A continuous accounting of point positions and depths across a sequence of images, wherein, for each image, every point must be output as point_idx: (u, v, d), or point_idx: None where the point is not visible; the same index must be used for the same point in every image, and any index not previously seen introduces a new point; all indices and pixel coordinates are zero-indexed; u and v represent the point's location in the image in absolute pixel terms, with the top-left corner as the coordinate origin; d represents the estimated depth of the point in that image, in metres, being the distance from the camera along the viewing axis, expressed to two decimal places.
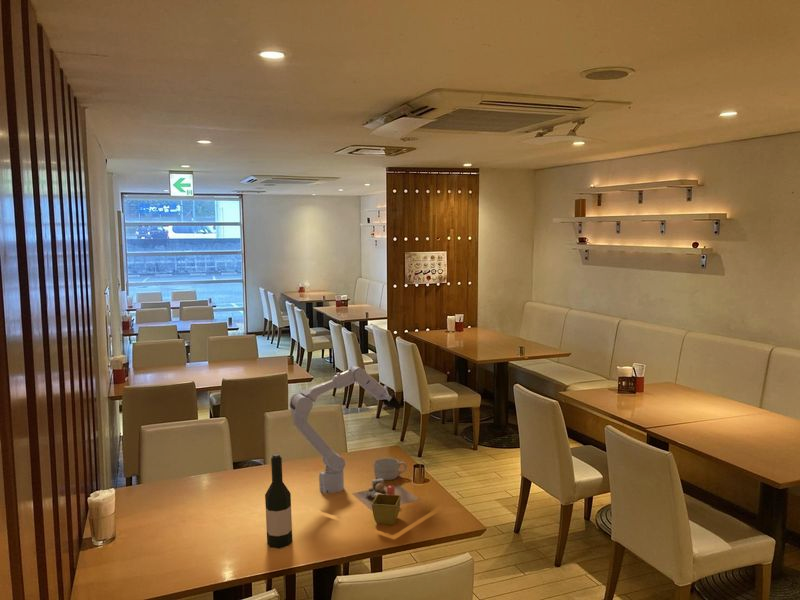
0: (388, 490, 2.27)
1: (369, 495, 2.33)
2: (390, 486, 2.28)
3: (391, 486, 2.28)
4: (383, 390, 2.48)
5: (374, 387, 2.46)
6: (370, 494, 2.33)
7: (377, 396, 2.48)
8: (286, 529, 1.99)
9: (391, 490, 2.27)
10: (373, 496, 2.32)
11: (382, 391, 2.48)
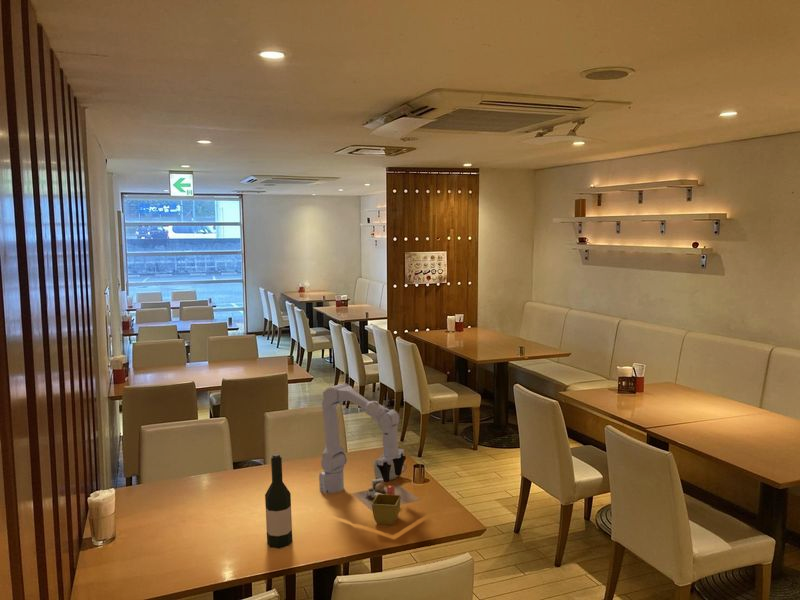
0: (388, 490, 2.27)
1: (369, 495, 2.33)
2: (390, 486, 2.28)
3: (391, 486, 2.28)
4: (390, 454, 2.25)
5: (386, 443, 2.25)
6: (370, 494, 2.33)
7: (383, 452, 2.28)
8: (286, 529, 1.99)
9: (391, 490, 2.27)
10: (373, 496, 2.32)
11: (388, 454, 2.25)
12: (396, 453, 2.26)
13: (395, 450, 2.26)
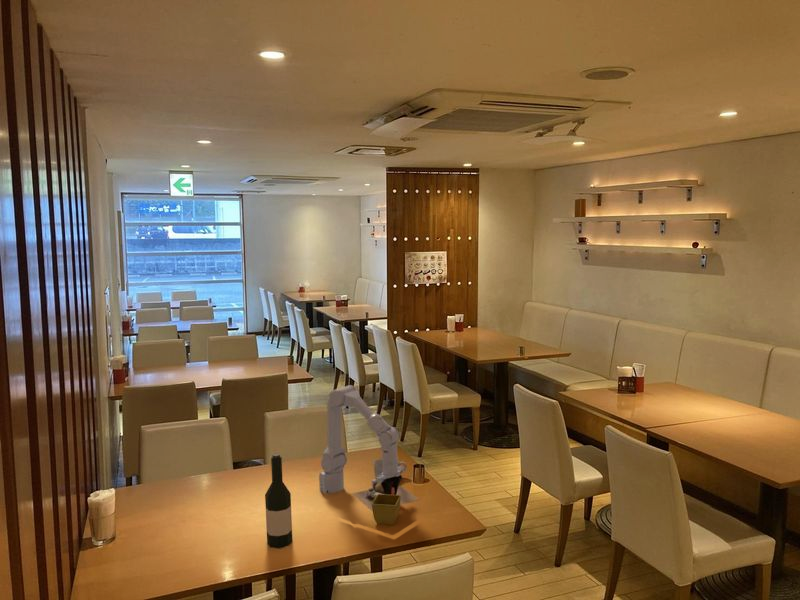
0: None
1: (369, 495, 2.33)
2: None
3: None
4: (389, 472, 2.25)
5: (385, 461, 2.25)
6: (370, 494, 2.33)
7: None
8: (286, 529, 1.99)
9: None
10: (373, 496, 2.32)
11: (387, 472, 2.25)
12: (395, 471, 2.26)
13: (394, 468, 2.25)
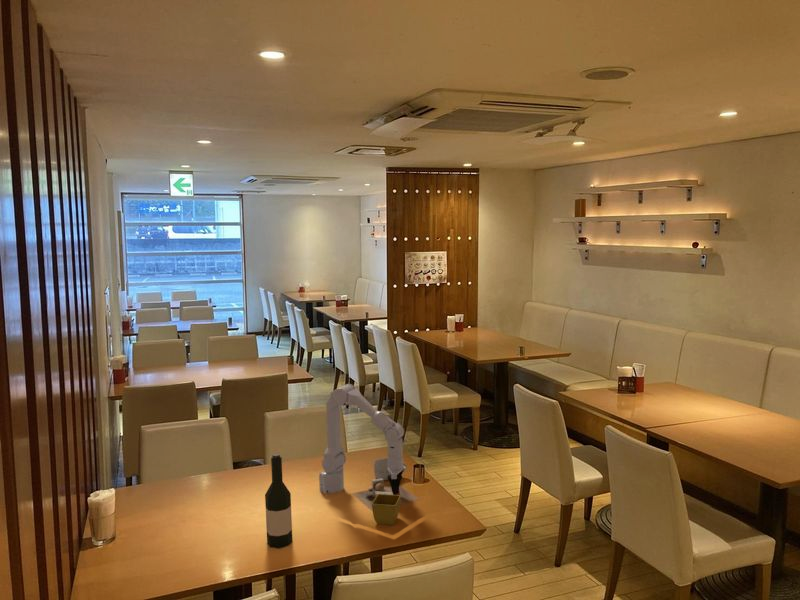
0: None
1: (371, 495, 2.33)
2: None
3: None
4: (398, 467, 2.30)
5: (392, 456, 2.30)
6: (372, 494, 2.33)
7: (389, 466, 2.31)
8: (286, 529, 1.99)
9: None
10: (375, 495, 2.33)
11: (396, 467, 2.30)
12: (402, 465, 2.32)
13: (402, 462, 2.32)
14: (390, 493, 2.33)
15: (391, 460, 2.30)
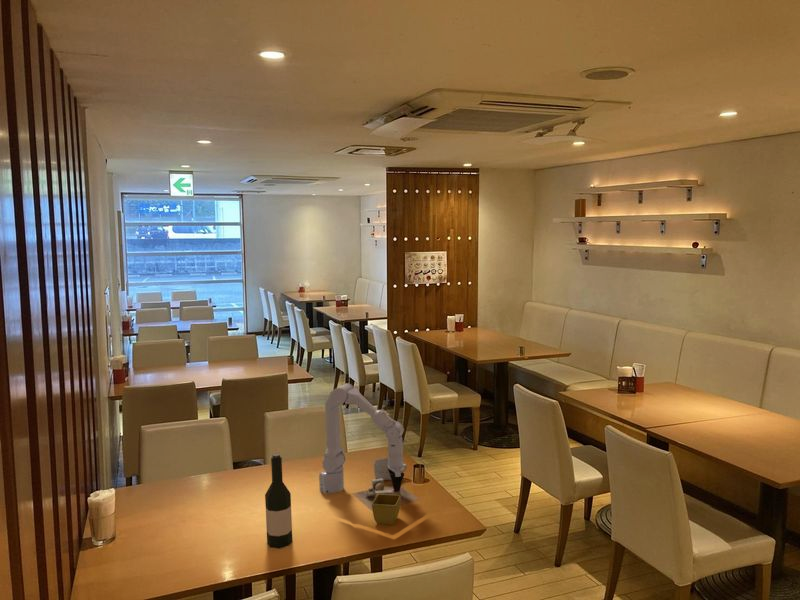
0: None
1: (372, 495, 2.33)
2: None
3: None
4: (400, 465, 2.33)
5: (393, 455, 2.32)
6: (373, 494, 2.33)
7: (391, 464, 2.33)
8: (286, 529, 1.99)
9: None
10: (376, 495, 2.34)
11: (398, 465, 2.33)
12: (402, 462, 2.35)
13: (402, 460, 2.35)
14: (391, 491, 2.35)
15: (393, 458, 2.32)
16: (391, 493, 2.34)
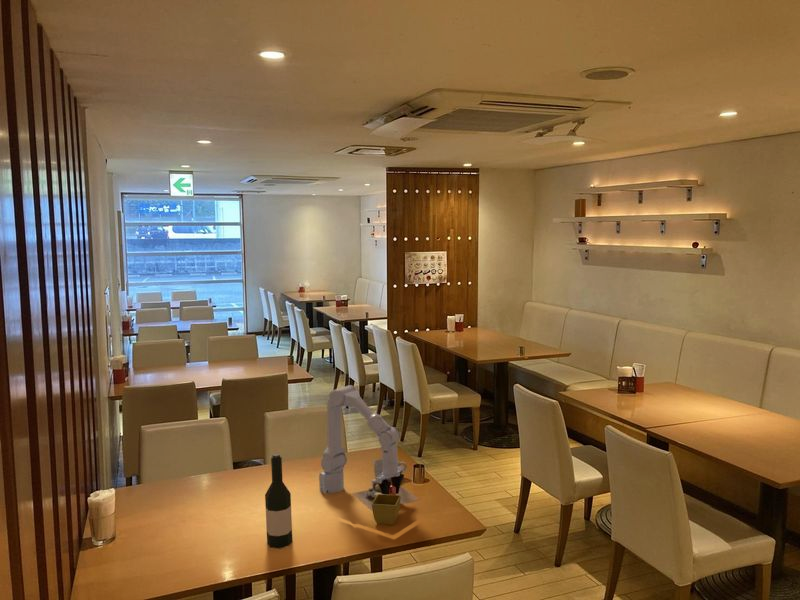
0: None
1: (369, 495, 2.33)
2: (391, 485, 2.29)
3: (392, 485, 2.29)
4: (389, 472, 2.25)
5: (385, 461, 2.25)
6: (370, 494, 2.33)
7: None
8: (286, 529, 1.99)
9: (393, 489, 2.28)
10: (374, 496, 2.32)
11: (387, 472, 2.25)
12: (395, 471, 2.26)
13: (394, 468, 2.25)
14: None
15: (383, 464, 2.26)
16: None
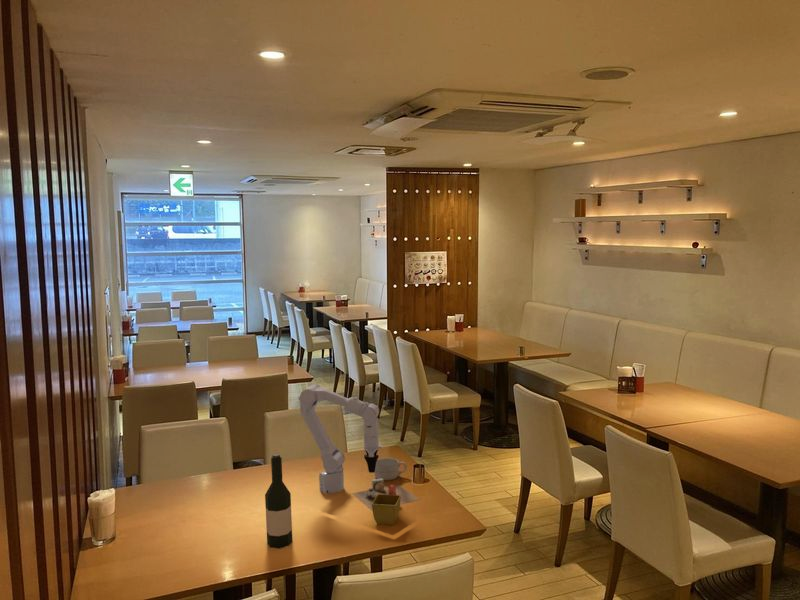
0: (389, 489, 2.28)
1: (369, 495, 2.33)
2: (391, 485, 2.29)
3: (392, 485, 2.29)
4: (374, 446, 2.37)
5: (369, 435, 2.36)
6: (370, 494, 2.33)
7: (366, 445, 2.37)
8: (286, 529, 1.99)
9: (393, 489, 2.28)
10: (374, 496, 2.32)
11: (373, 445, 2.36)
12: (378, 444, 2.39)
13: None
14: None
15: (367, 439, 2.36)
16: None
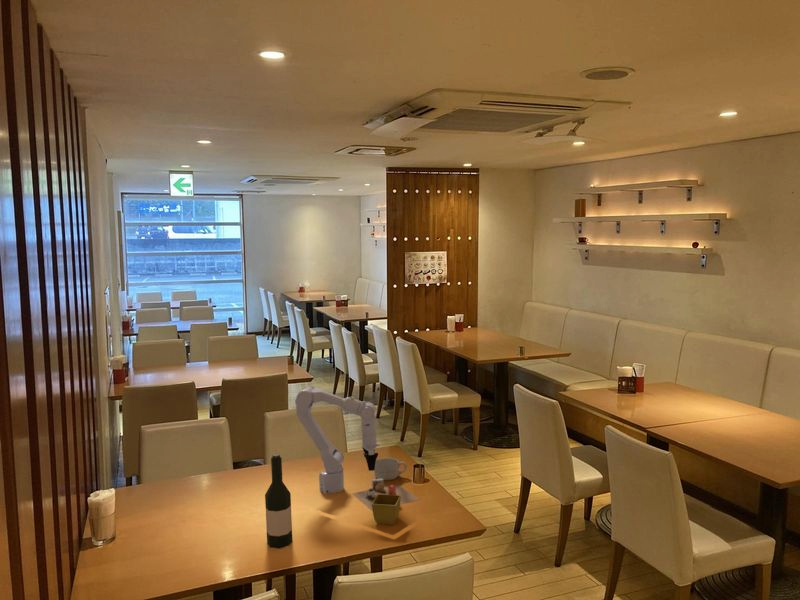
0: (389, 489, 2.28)
1: (369, 495, 2.33)
2: (391, 485, 2.29)
3: (392, 485, 2.29)
4: (373, 444, 2.39)
5: (367, 434, 2.38)
6: (370, 494, 2.33)
7: (364, 443, 2.39)
8: (286, 529, 1.99)
9: (393, 489, 2.28)
10: (374, 496, 2.32)
11: (372, 444, 2.38)
12: (376, 441, 2.41)
13: (376, 439, 2.40)
14: None
15: (366, 437, 2.38)
16: None
